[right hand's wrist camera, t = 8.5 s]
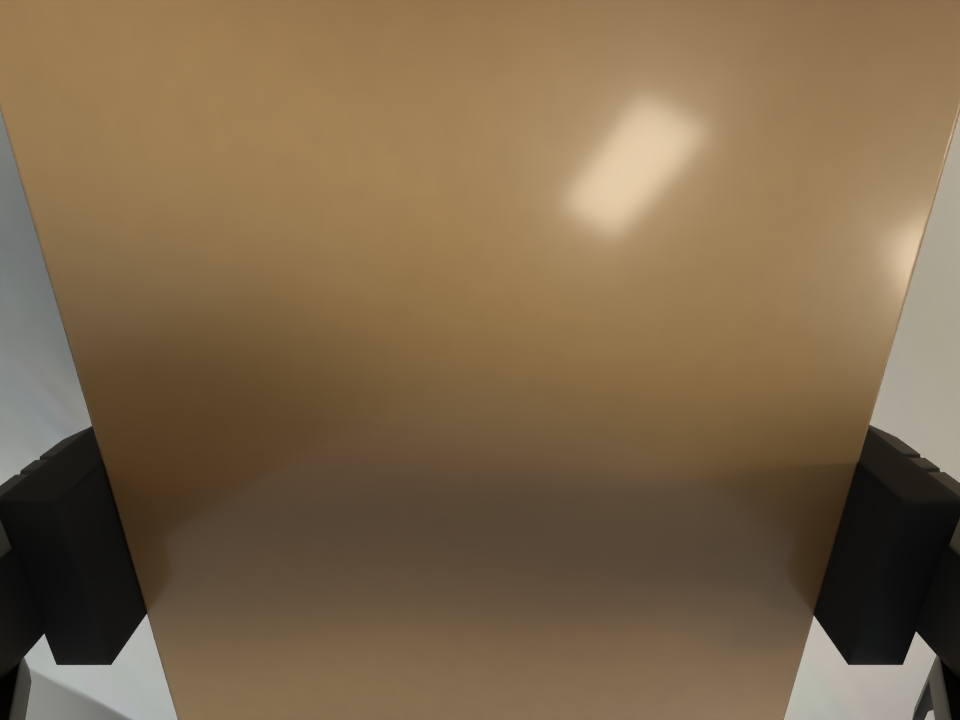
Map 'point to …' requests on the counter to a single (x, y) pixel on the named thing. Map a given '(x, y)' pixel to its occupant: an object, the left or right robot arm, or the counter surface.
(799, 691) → the counter surface
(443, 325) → the thick board
